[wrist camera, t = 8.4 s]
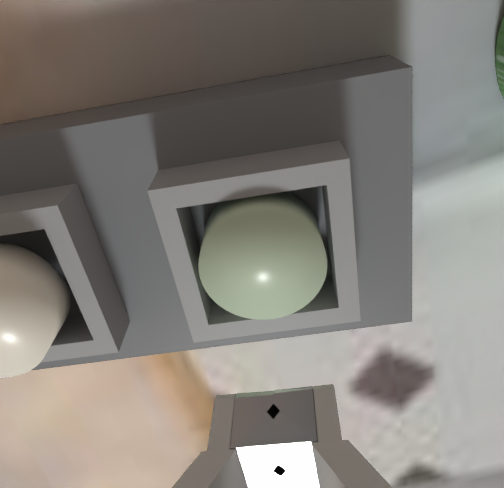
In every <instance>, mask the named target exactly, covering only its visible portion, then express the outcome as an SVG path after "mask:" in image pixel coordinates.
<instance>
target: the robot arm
mask: <svg viewBox="0 0 504 488" xmlns="http://www.w3.org/2000/svg"><path fill="white" fill-rule="evenodd" d="M172 488H392V487H391V486H390V485H389V484H388V482H387V481H386V480H385V479H384V478H383V477H382V476H381V475H380V474H379V473H378V472H377V471H376V470H375V468H374V467H373V466H372V465H371V464H370V463H369V462H368V461H367V460H366V459H365V458H364V457H363V456H362V455H361V453H360V452H359V451H358V450H357V449H356V448H355V447H354V446H353V445H352V444H351V443H350V442H349V441H348V440H342V437H341V431H340V424H339V417H338V410H337V403H336V396H335V389H334V385H333V384H331V385H321V386H310V387H301V388H292V389H283V390H275V391H266V392H252V393H237V394H228V395H217V397H216V399H215V402H214V409H213V415H212V422H211V429H210V435H209V442H208V449H207V451H205V452H201V453H200V454H199V455H198V457H197V458H196V459H195V460H194V462H193V463H192V464H191V465H190V466H189V468H188V469H187V470H186V471H185V472H184V474H183V475H182V476H181V477H180V479H179V480H178V481H177V482H176V483H175V485H174V486H173V487H172Z"/></svg>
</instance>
